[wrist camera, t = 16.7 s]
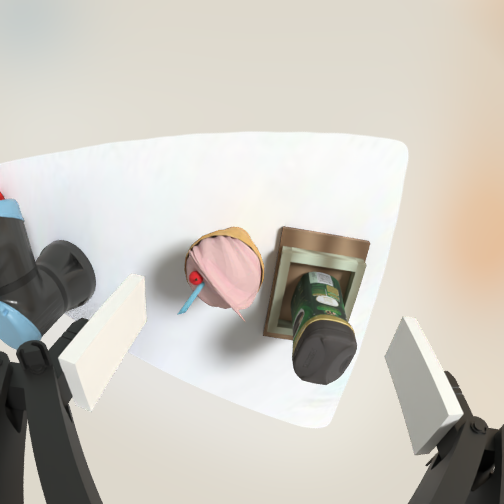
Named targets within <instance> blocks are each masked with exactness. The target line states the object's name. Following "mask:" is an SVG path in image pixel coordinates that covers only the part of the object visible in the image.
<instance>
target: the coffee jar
mask: <svg viewBox="0 0 504 504" xmlns="http://www.w3.org/2000/svg"><path fill="white" fill-rule="evenodd" d="M291 316H292V327H293V353H292V361H293V368H294V371H295V373H296V374H297V376H298V377H299V378H300V379H301V380H303V381H307V382H311V383H316V384H323V385H327V384H329V383H331V382H333V381H335V380H337V379H338V378H339V377H340V376H341V375H342V374H343V373H344V371H345V370H346V368H347V367H348V366H349V364H350V362H351V360H352V358H353V357H354V355H355V353H356V350H357V343H356V339H355V333H354V330H353V328H352V327H351V325H350V324H349V323H348V322H347V317H346V313H345V309H344V304H343V298H342V293H341V288H340V285H339V282H338V281H337V279H336V278H334V277H332V276H330V275H328V274H325V273H321V272H308V273H306V274H304V275H303V276H302V277H301V279H300V280H299V282H298V284H297V286H296V288H295V291H294V293H293V296H292V300H291Z"/></svg>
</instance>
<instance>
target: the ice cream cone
mask: <svg viewBox="0 0 504 504" xmlns="http://www.w3.org/2000/svg"><path fill="white" fill-rule="evenodd" d="M184 270H185V274H186V279H187V282H188V283H189V285H190V287H191V288H192V290H193V291H194V292H193V293H192V295H191V296H190V298H189V299H188V300H187V302H186V303H185V305H184V306H183V307H182V309H181V310H180V312H179V313H178V314H182V313H185V312H186V311H187V309H188V308H189V306H190V305H191V304H192V302H193V301H194V299H195V298H196V296H198V297H199V298H200V299H201V300H202V301H204V302H205V303H206V304H208V305H210V306H213V307H220V308H224V309H227V308H232V309H233V310H234V311H235V312H236V313H237V314H238V315H239V316H240V317H241V318H242V319H243V317H242V316H241V314H240V312H239V310H241V309H246V308H248V307H249V306H250V305H251V304H252V303H253V301H254V299H255V297H256V294H257V293H258V291H259V289H260V287H261V284H262V282H263V280H264V264H263V261H262V258H261V254H260V253H259V251H258V248H257V247H256V246H255V244H254V243H253V242H252V240H251V239H250V236H249V234H248V233H247V232H246V231H245V230H243V229H242V228H239V227H230V228H227V229H226V230H218V231H215V232H212V233H209V234H207V235H204V236H202V237H201V238H200V239H198V240H197V241H196V242H195V243H194V244H193V245H192V246H191V248H190V249H189V251H188V253H187V255H186V259H185V268H184ZM238 309H239V310H238ZM178 314H177V315H178ZM243 320H244V319H243ZM244 321H245V320H244Z"/></svg>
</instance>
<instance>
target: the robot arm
mask: <svg viewBox="0 0 504 504" xmlns="http://www.w3.org/2000/svg"><path fill="white" fill-rule="evenodd" d="M95 286H96V280H95V274H94V271H93V268H92V266H91V263H90V262H89V260H88V258H87V257H86V255H85V254H84V253H83V252H82V251H81V250H80V249H79V248H78V247H77V246H75V245H74V244H72V243H70V242H68V241H64V240H57V241H54V242H52V243H51V244H49V245H48V246H46V247H45V248H44V249H43V250H42V252H41V254H40V256H39V257H38V259H37V260H36V262H35V259H34V256H33V253H32V250H31V246H30V243H29V240H28V236H27V233H26V229H25V225H24V219H23V217H22V215H21V211H20V208H19V205H18V203H17V202H16V201H15V200H14V199H4V200H0V339H1V340H2V341H3V342H4V343H6V344H7V345H9V346H10V347H12V348H14V349H16V350H17V352H16V355H17V357H18V360H19V362H20V363H15V362H10V360H9V358H8V356H7V354H6V353H4V352H1V351H0V504H24V501H23V500H24V499H23V475H24V452H25V439H26V428H27V419H28V424H29V431H30V437H31V442H32V448H33V452H34V457H35V461H36V466H37V470H38V474H39V478H40V482H41V486H42V490H43V492H44V496H45V500H46V503H47V504H103V503H102V501H101V498H100V496H99V493H98V491H97V489H96V486H95V484H94V481H93V479H92V476H91V474H90V471H89V468H88V465H87V462H86V460H85V457H84V454H83V451H82V448H81V445H80V441H79V438H78V435H77V431H76V428H75V424H74V421H73V417H72V413H71V410H70V406H69V404H68V403H69V401H70V400H71V398H72V397H73V399H74V402H75V404H76V406H78V407H81V408H83V409H86V410H88V411H91V412H92V410H93V409H94V407H95V405H96V403H97V402H98V400H99V398H100V396H101V395H102V393H103V391H104V390H105V388H106V386H107V385H108V383H109V381H110V379H111V378H112V376H113V374H114V373H115V371H116V369H117V368H118V366H119V365H120V363H121V361H122V360H123V358H124V356H125V355H126V353H127V352H128V350H129V348H130V347H131V345H132V344H133V342H134V340H135V339H136V337H137V336H138V334H139V332H140V331H141V329H142V328H143V326H144V325H145V323H146V321H147V316H146V298H145V276H141V275H136V274H130V275H129V276H128V277H127V278H126V279H125V281H124V282H123V283H122V284H121V285H120V286H119V287H118V288H117V289H116V290H115V292H114V293H113V294H112V295H111V296H110V297H109V298H108V299H107V300H106V302H105V303H104V304H103V305H102V306H101V307H100V308H99V310H98V311H97V312H96V313H95V314H94V315H93V316H92V318H91V319H90V320H88V319H84V318H81V319H79V320H77V321H75V322H74V323H72V324H71V325H70V327H69V328H68V329H67V330H66V332H64V333H63V334H62V336H61V337H60V338H59V339H58V340H57V341H56V342H55V344H54V345H53V346H52V347H51V348H50V349H49V350H48V349H47V347H46V345H45V344H44V343H43V342H42V341H40V340H41V338H42V336H43V335H44V334H45V333H46V332H47V331H48V330H49V329H50V328H51V327H52V325H53V324H54V323H55V322H56V321H57V320H58V319H59V318H60V317H61V316H62V315H63V314H64V313H65V312H66V311H69V310H71V309H74V308H77V307H79V306H82V305H83V304H85V303H86V302H87V301H88V300H89V299H90V298H91V297H92V295H93V294H94V291H95ZM385 359H386V362H387V365H388V368H389V371H390V374H391V377H392V380H393V383H394V386H395V389H396V392H397V395H398V398H399V402H400V405H401V408H402V412H403V415H404V419H405V422H406V425H407V429H408V432H409V436H410V440H411V443H412V447H413V451H414V454H415V455H421V454H429V453H430V452H431V451H432V450H433V449H434V448H435V447H436V446H437V449H438V453H437V454H436V455H435V456H434V457H433V458H432V459H431V460H430V461H429V462H428V463H427V464H426V466H428V465H429V464H430V463H431V464H430V466H429V468H428V470H427V471H426V473H425V475H424V477H423V479H422V481H421V483H420V484H419V486H418V488H417V489H416V491H415V493H414V495H413V496H412V498H411V499H410V501H409V503H408V504H504V424H503V426H502V427H501V428H500V429H499V430H498V429H492V428H488V426H487V424H486V422H485V421H484V420H482V419H481V418H479V417H476V416H473V415H472V413H471V410H470V408H469V406H468V404H467V402H466V400H465V398H464V396H463V395H462V391H461V389H460V388H459V385H458V384H457V381H456V379H455V378H454V377H453V376H452V375H451V374H450V373H449V372H448V371H443V369H442V367H441V365H440V363H439V361H438V359H437V357H436V355H435V353H434V351H433V349H432V348H431V346H430V344H429V342H428V340H427V338H426V336H425V335H424V333H423V331H422V329H421V327H420V325H419V324H418V322H417V320H416V318H415V317H406V316H403V317H402V319H401V322H400V324H399V326H398V329H397V331H396V333H395V335H394V337H393V340H392V342H391V344H390V346H389V349H388V351H387V353H386V355H385ZM494 467H495V468H494ZM493 469H494V472H493Z"/></svg>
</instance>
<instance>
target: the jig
mask: <svg viewBox="0 0 504 504" xmlns="http://www.w3.org/2000/svg"><path fill="white" fill-rule="evenodd" d="M369 246H370V242H369V241H366V240H360V239H355V238H349V237H343V236H338V235H332V234H326V233H320V232H315V231H309V230H303V229H297V228H291V227H284V226H283V229H282V235H281V240H280V246H279V252H278V257H277V263H276V268H275V274H274V279H273V285H272V290H271V295H270V301H269V306H268V311H267V316H266V322H265V327H264V332H263V336H268V337H274V338H281V339H289V340H293V327H292V316H291V300H292V296H293V293H294V291H295V288H296V286H297V284H298V282H299V280H300V279H301V277H302V276H303V275H304V274H306V273H308V272H321V273H325V274H328V275H330V276H332V277H334V278H336V279H337V281H338V282H339V285H340V288H341V293H342V298H343V304H344V309H345V313H346V317H347V322H348V321H349V318H350V315H351V312H352V309H353V306H354V303H355V300H356V297H357V294H358V291H359V288H360V285H361V281H362V278H363V275H364V272H365V268H366V263H365V260H366V257H367V253H368V250H369Z"/></svg>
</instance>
